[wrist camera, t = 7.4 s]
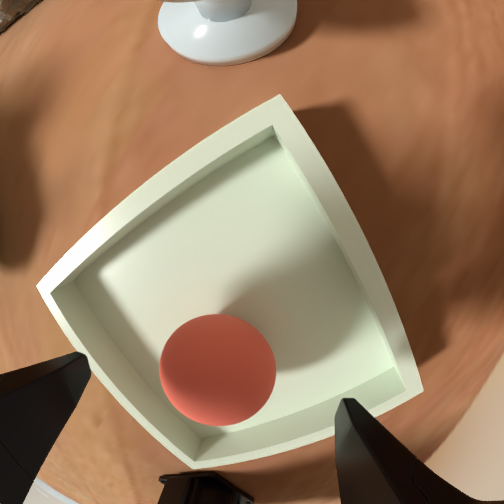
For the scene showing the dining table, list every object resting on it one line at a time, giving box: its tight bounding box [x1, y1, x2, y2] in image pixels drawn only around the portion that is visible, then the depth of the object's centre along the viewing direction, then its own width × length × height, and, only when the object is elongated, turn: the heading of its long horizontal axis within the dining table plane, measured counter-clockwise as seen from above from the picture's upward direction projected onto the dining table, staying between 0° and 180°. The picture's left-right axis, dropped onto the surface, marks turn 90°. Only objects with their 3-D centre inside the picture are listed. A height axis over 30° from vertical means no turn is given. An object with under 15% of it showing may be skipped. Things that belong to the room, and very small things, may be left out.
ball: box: [159, 314, 276, 426], centre depth 10 cm, size 5×5×5 cm
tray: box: [37, 94, 424, 469], centre depth 12 cm, size 14×14×3 cm
